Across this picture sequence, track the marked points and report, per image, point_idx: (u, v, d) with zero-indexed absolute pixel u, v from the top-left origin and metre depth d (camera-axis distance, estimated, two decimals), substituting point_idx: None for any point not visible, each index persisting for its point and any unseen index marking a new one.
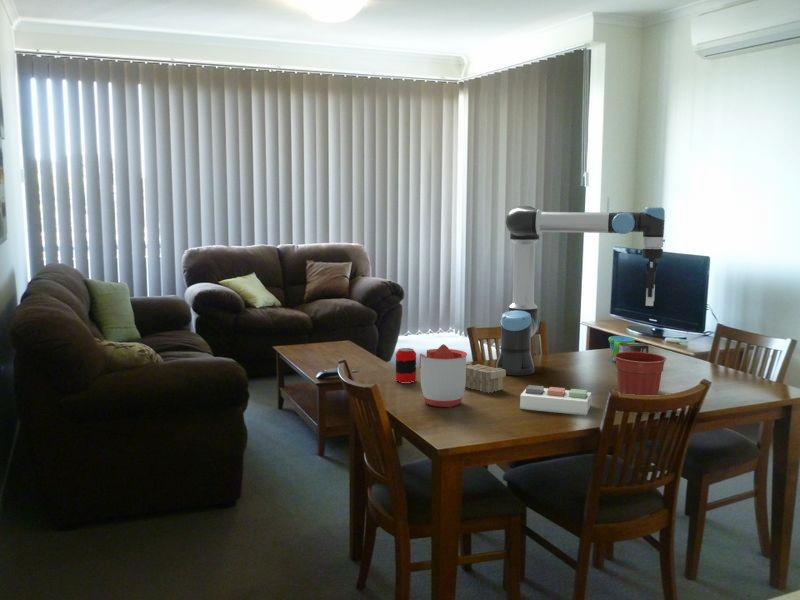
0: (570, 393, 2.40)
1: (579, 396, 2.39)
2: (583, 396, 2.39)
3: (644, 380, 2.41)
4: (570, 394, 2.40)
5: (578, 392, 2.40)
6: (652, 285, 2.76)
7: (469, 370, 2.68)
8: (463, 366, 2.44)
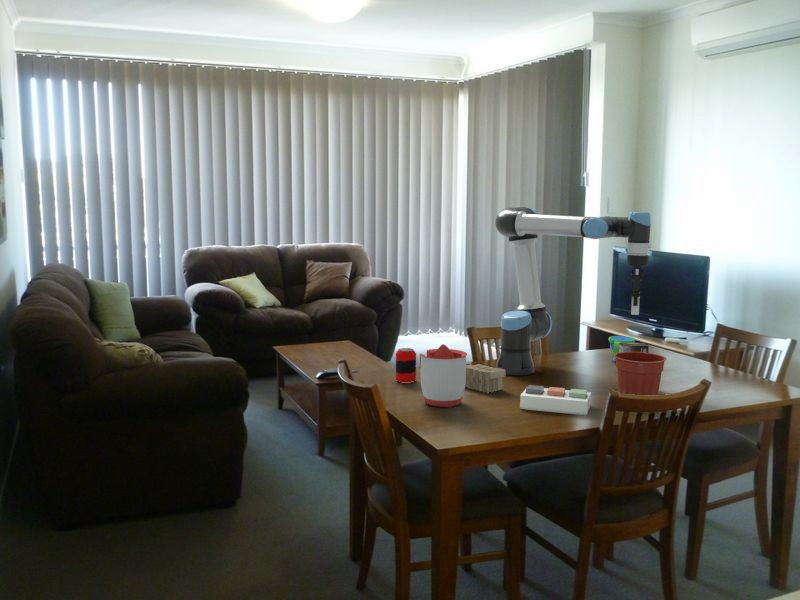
0: (570, 393, 2.40)
1: (579, 396, 2.39)
2: (583, 396, 2.39)
3: (644, 380, 2.41)
4: (570, 394, 2.40)
5: (578, 392, 2.40)
6: (638, 293, 2.65)
7: (469, 370, 2.68)
8: (463, 366, 2.44)
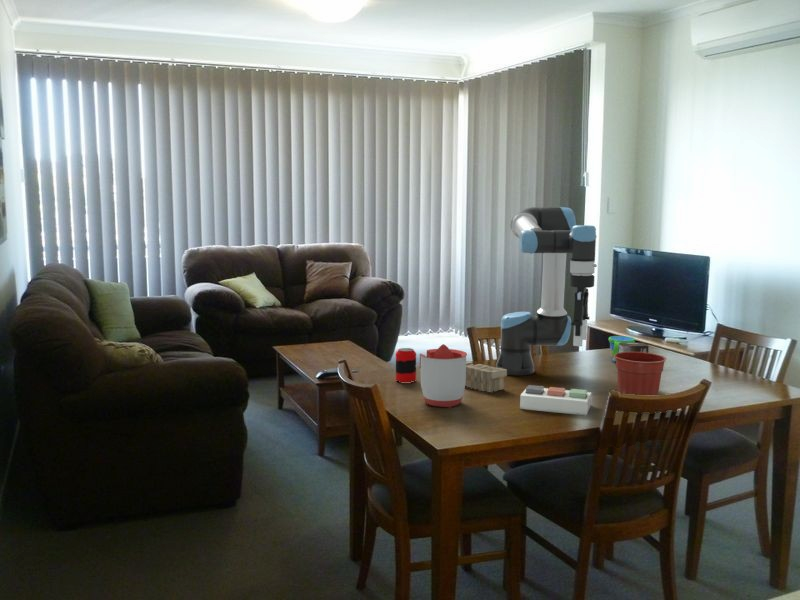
0: (570, 393, 2.40)
1: (579, 396, 2.39)
2: (583, 396, 2.39)
3: (644, 380, 2.41)
4: (570, 394, 2.40)
5: (578, 392, 2.40)
6: (580, 322, 2.30)
7: (470, 370, 2.69)
8: (463, 366, 2.44)
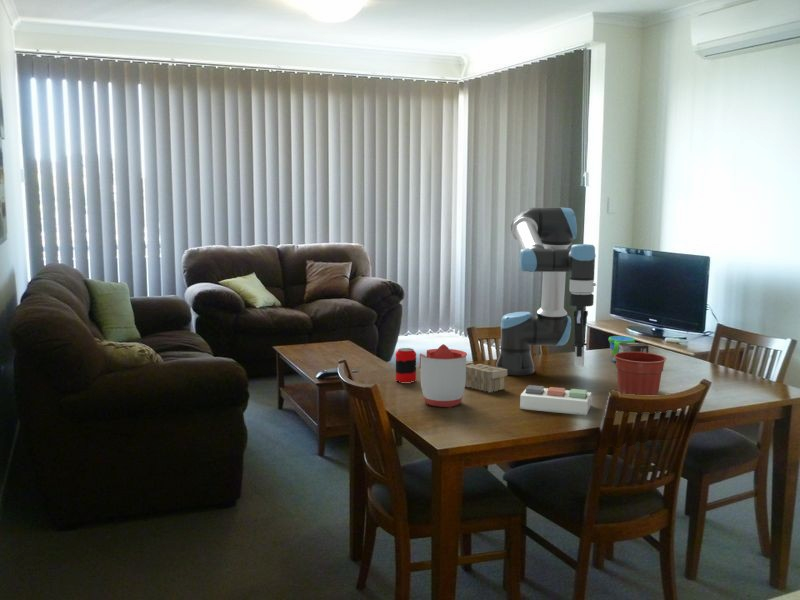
0: (570, 393, 2.40)
1: (579, 396, 2.39)
2: (583, 396, 2.39)
3: (644, 380, 2.41)
4: (570, 394, 2.40)
5: (578, 392, 2.40)
6: (581, 343, 2.36)
7: (471, 370, 2.69)
8: (463, 366, 2.44)
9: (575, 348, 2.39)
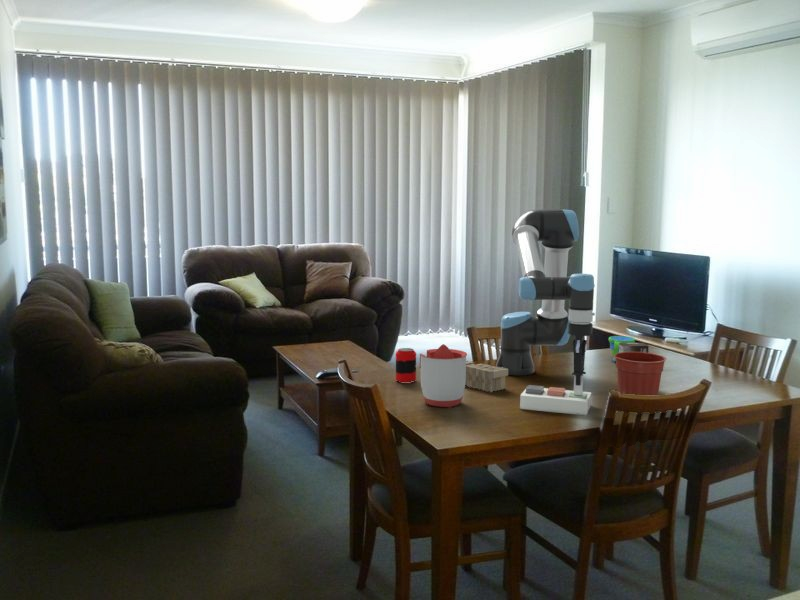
0: None
1: None
2: None
3: (644, 380, 2.41)
4: None
5: (578, 396, 2.40)
6: (580, 372, 2.37)
7: (472, 370, 2.69)
8: (463, 366, 2.44)
9: (574, 377, 2.41)
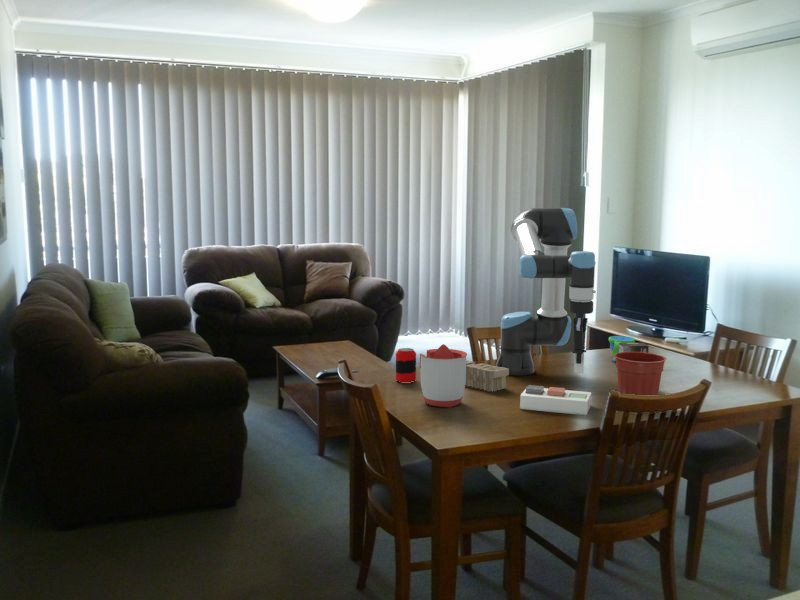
0: None
1: None
2: None
3: (644, 380, 2.41)
4: None
5: (578, 397, 2.40)
6: (580, 350, 2.36)
7: (473, 369, 2.70)
8: (463, 366, 2.44)
9: (575, 355, 2.40)
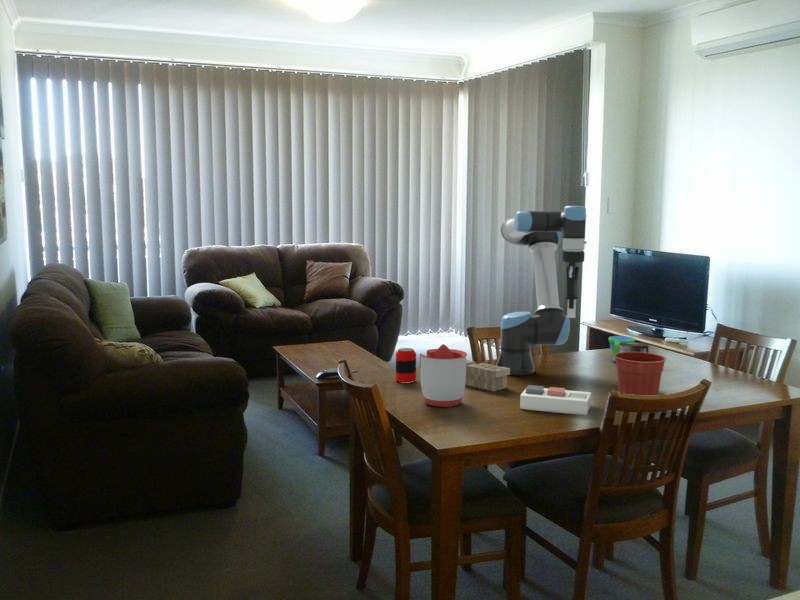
0: None
1: None
2: None
3: (644, 380, 2.41)
4: None
5: (578, 397, 2.40)
6: (573, 296, 2.59)
7: (474, 369, 2.70)
8: (463, 366, 2.44)
9: None
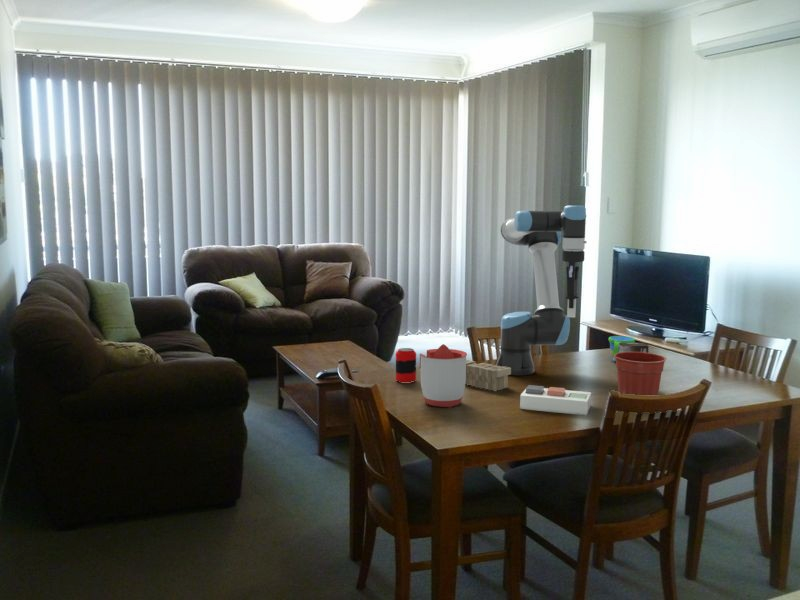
0: None
1: None
2: None
3: (644, 380, 2.41)
4: None
5: (578, 397, 2.40)
6: (573, 295, 2.59)
7: (475, 369, 2.70)
8: (463, 366, 2.44)
9: None
